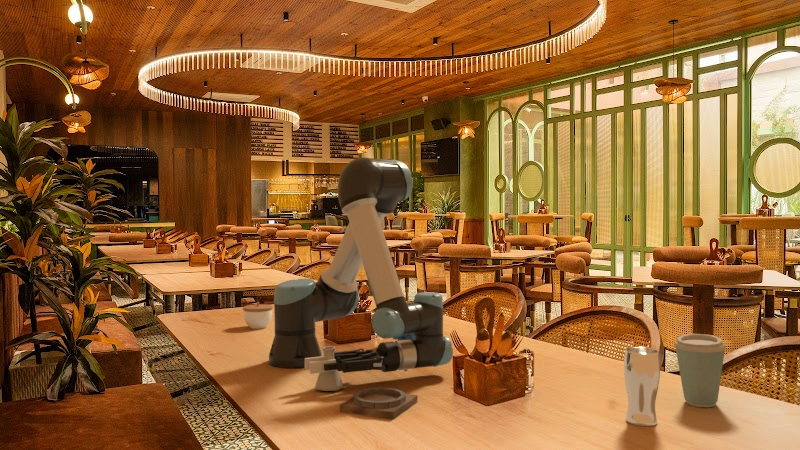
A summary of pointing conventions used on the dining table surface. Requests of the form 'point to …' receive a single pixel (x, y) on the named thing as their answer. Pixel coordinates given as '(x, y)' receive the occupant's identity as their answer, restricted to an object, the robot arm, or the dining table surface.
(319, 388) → the flask
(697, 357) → the disposable coffee cup
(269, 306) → the lidded jar
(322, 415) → the dining table surface
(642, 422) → the beer glass
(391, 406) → the walnut seat board
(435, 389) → the dining table surface
